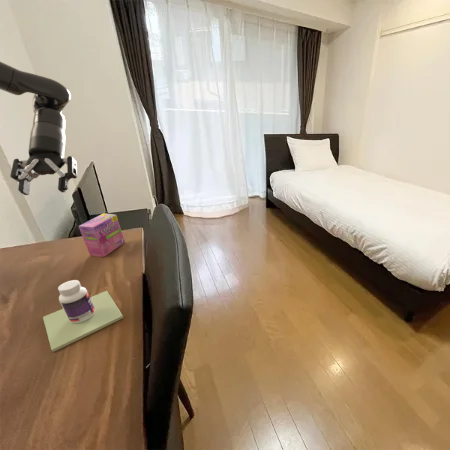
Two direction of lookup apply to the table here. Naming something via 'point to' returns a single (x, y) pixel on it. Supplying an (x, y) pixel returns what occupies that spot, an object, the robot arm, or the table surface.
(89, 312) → the pill bottle
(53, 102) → the robot arm
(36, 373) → the table surface
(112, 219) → the box
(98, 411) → the table surface
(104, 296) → the notepad
